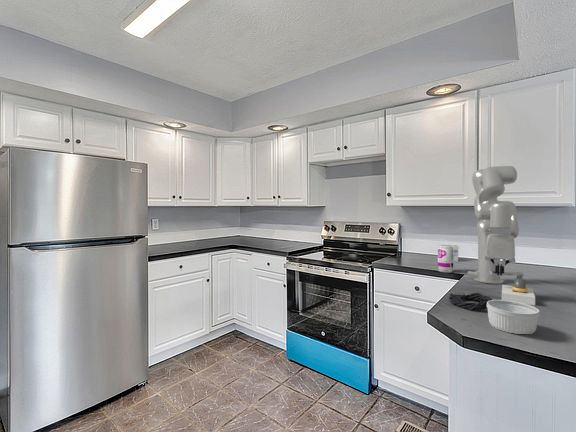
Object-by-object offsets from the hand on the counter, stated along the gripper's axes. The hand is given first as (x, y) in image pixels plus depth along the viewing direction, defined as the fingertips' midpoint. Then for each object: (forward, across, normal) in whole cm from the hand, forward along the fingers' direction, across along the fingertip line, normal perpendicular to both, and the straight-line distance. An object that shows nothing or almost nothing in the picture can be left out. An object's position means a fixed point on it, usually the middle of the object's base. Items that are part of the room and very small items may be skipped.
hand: (499, 274), depth 130 cm
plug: (+9, +7, 0) cm, 11 cm away
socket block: (+9, +7, 0) cm, 11 cm away
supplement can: (+8, -27, +42) cm, 51 cm away
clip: (0, +3, +4) cm, 5 cm away
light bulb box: (+6, -31, +87) cm, 93 cm away
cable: (+10, -9, -22) cm, 26 cm away
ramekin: (+10, +4, -41) cm, 42 cm away
